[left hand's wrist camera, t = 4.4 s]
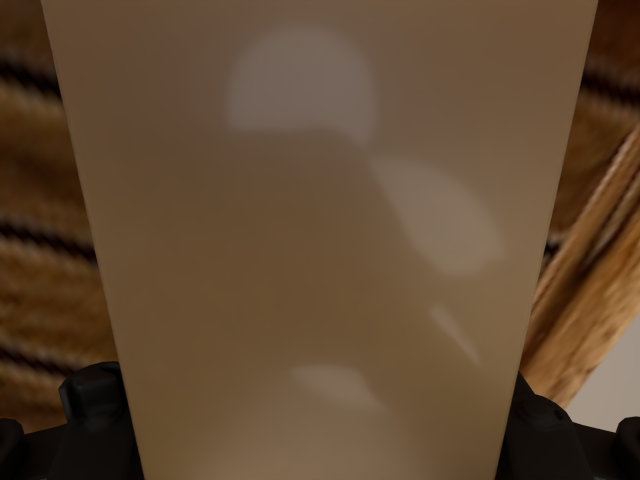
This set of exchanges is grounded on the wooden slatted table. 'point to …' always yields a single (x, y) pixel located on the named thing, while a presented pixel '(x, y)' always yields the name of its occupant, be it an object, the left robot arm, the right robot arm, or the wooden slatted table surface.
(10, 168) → the wooden slatted table surface
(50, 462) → the left robot arm
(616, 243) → the wooden slatted table surface
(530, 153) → the bar
